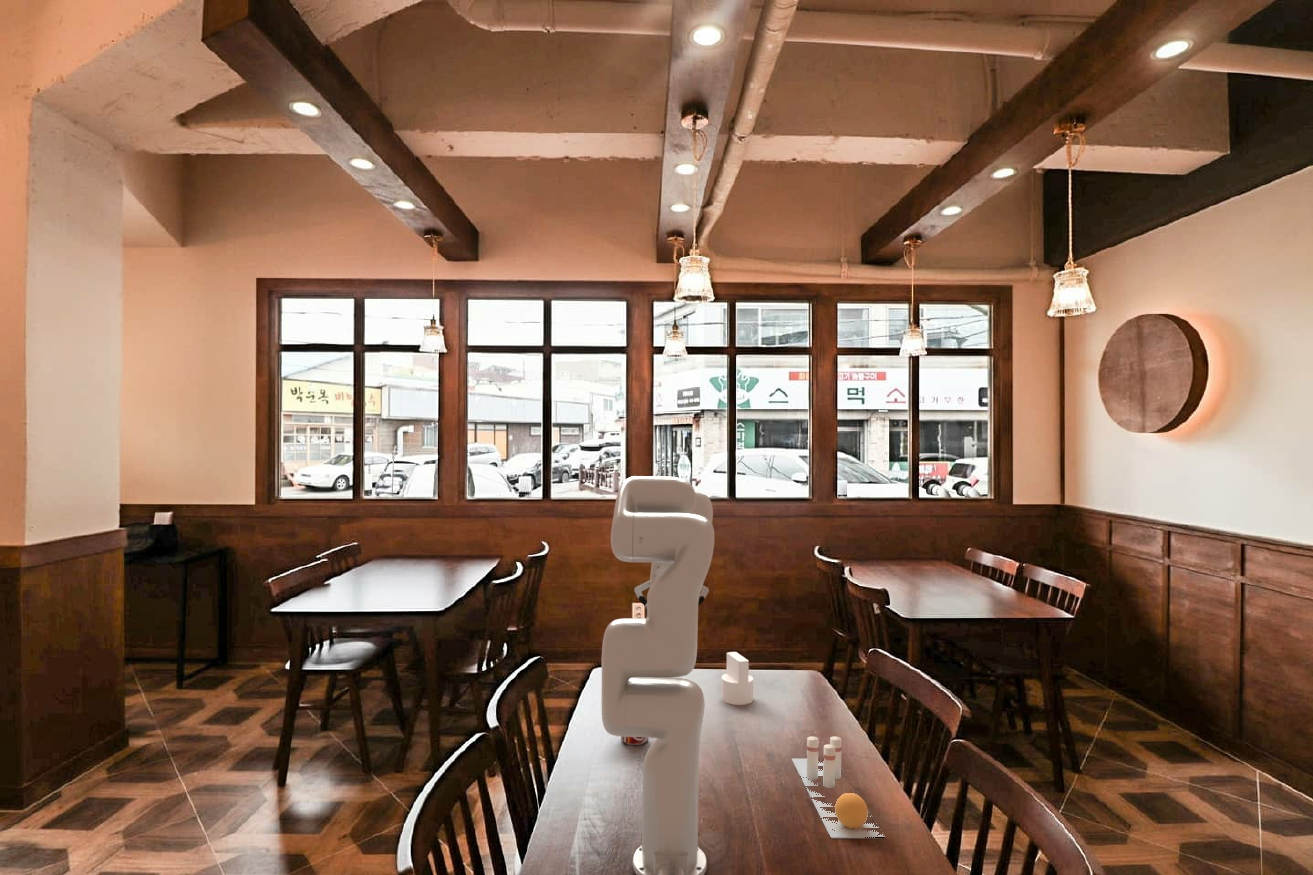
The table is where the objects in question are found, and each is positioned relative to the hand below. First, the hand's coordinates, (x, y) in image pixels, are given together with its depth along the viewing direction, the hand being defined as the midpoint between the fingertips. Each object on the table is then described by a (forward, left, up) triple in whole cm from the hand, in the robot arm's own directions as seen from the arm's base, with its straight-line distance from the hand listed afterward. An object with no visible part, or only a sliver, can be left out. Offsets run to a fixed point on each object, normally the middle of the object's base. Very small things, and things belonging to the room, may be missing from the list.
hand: (671, 624), depth 161 cm
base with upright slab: (+36, -21, -30) cm, 51 cm away
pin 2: (-11, -35, -30) cm, 48 cm away
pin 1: (-11, -30, -30) cm, 44 cm away
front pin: (-15, -33, -30) cm, 47 cm away
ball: (-30, -33, -27) cm, 52 cm away
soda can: (+8, +8, -30) cm, 32 cm away
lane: (-18, -33, -30) cm, 48 cm away
